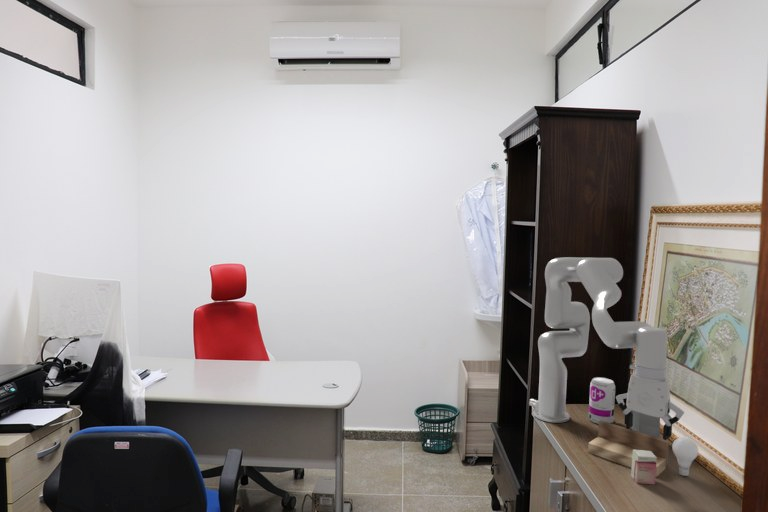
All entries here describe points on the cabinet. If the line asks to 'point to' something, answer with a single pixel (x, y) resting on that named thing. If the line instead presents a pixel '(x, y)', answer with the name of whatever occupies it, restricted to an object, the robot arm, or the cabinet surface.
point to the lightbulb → (684, 454)
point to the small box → (643, 466)
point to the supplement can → (601, 400)
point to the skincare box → (646, 424)
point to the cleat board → (627, 445)
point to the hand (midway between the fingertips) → (647, 433)
